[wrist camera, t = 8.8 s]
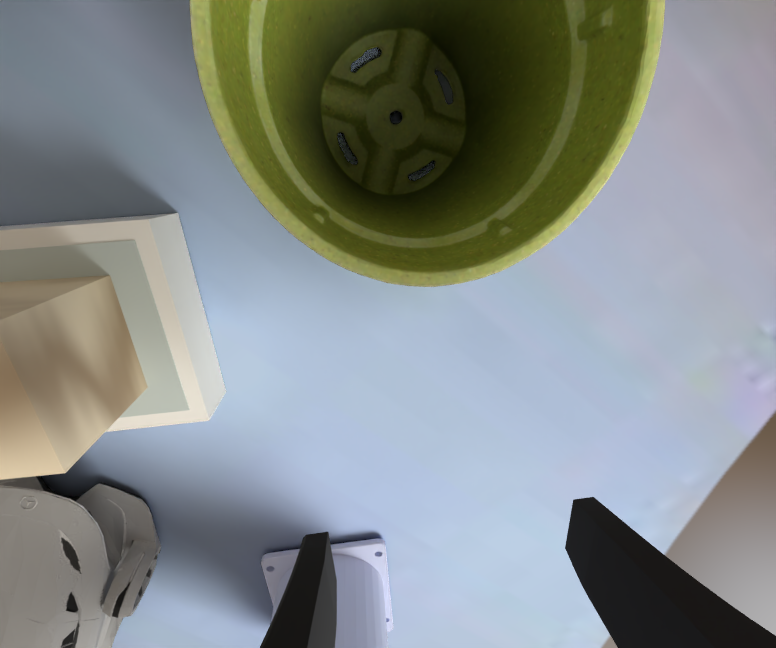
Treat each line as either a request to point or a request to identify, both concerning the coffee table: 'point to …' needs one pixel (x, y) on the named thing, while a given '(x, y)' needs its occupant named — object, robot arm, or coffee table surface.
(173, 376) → the cream square tray
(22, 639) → the car model
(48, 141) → the coffee table surface
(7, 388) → the maple cube
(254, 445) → the coffee table surface
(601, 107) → the plant pot
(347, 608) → the robot arm
